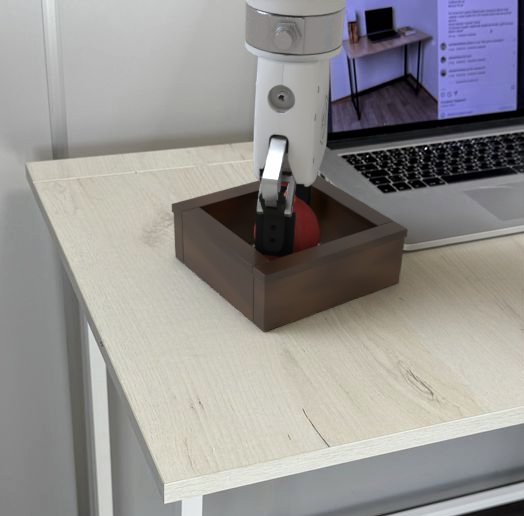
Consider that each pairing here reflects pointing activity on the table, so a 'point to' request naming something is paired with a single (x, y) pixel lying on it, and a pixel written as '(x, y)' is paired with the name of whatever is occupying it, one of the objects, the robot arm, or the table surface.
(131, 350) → the table surface
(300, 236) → the red rounded tapered piece
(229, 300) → the wooden box
